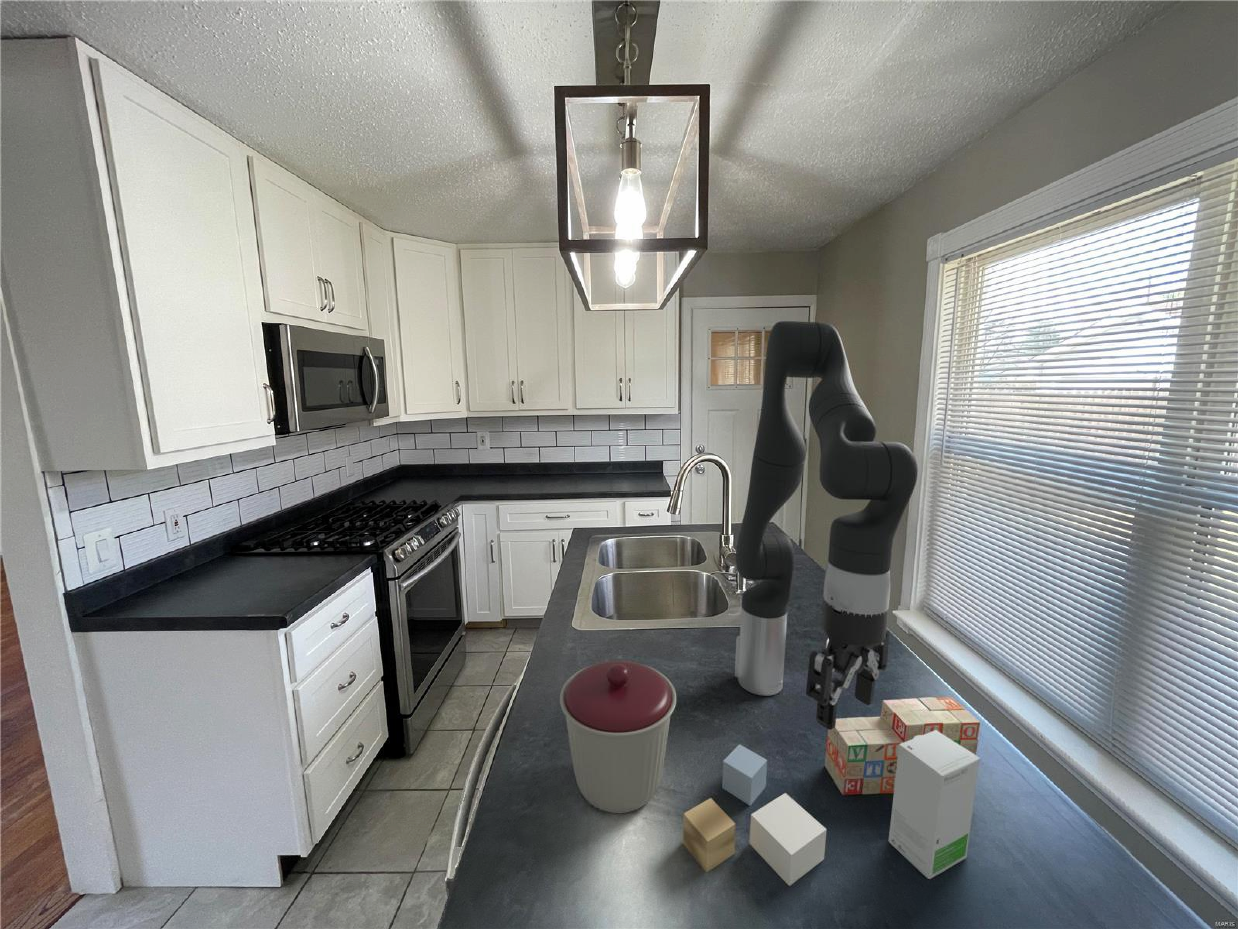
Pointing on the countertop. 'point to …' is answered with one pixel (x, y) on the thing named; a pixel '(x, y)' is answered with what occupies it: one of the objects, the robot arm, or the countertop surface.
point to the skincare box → (933, 802)
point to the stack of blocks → (891, 740)
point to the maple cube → (708, 834)
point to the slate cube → (744, 774)
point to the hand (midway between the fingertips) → (845, 713)
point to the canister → (618, 732)
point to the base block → (787, 838)
